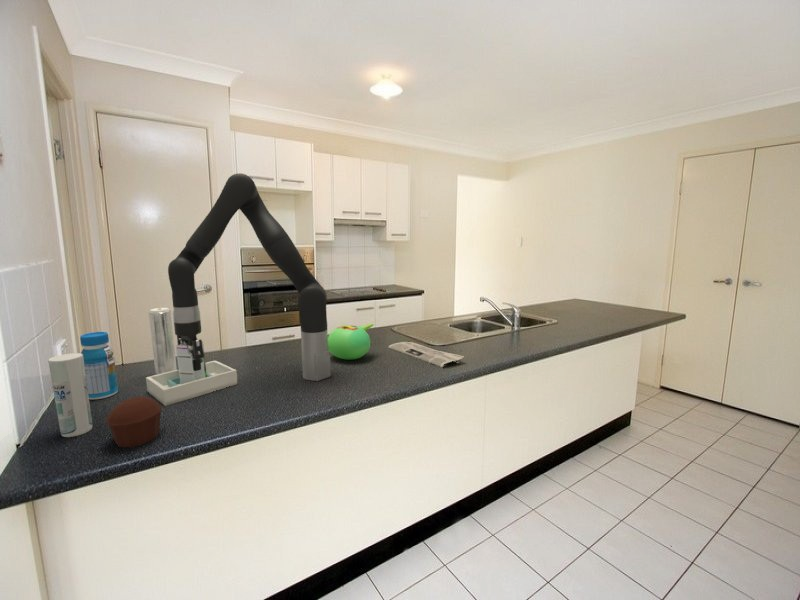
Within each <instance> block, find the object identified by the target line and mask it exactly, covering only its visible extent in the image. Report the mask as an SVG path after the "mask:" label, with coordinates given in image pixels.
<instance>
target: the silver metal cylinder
mask: <svg viewBox="0 0 800 600" xmlns="http://www.w3.org/2000/svg"><path fill="white" fill-rule="evenodd" d="M148 319H149V327H150V337H151V346H152V352H153V353H152V354H153V360H154V373H155V375H158V374H162V373H166V372H170V371H174V370H178V369H177V368H178V367H177V361H176V360H177V359H176V351H175V350H176V348H175V342H174V341H175V339H174V330H173V321H172V313H171V310H170V308H169V307H157V308H155V307H154V308H152V309H149V312H148Z"/></svg>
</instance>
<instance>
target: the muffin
mask: <svg viewBox="0 0 800 600" xmlns="http://www.w3.org/2000/svg"><path fill="white" fill-rule="evenodd" d="M162 409H163V407H162V405H161V404H160V403H159V402H157V401H156V400H155V399H154V398H152V397H146V396H135V397H131V398H128V399H124V400H123V401H122V402H120V403H118V404H116V405H115V406H114V407H113V408H112V410H111V411H110V412H109V413H108V415H107V417H106V418H105V420H104V421H105V423H106V424H107V425H108V426H109V429H110V432H111V435H112V437H113V440H114V443H115V444H116V445H117V446H118V447H119V448H132V447H133V448H134V447H137V446H141V445H145V444H147V443H148V442H150V441H153V440H154V439H156V438H155V437H157V436H158V434H159V433H160V426H161V425H160V424H161V412H162ZM156 435H157V436H156Z"/></svg>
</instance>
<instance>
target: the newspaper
mask: <svg viewBox="0 0 800 600" xmlns="http://www.w3.org/2000/svg"><path fill="white" fill-rule="evenodd" d="M389 348H391V349H393V350H392V351H394V350H396V351H395V352H397V351H399V352H401V353H400V354H402V353H404V354H403V355H405V354H407V355H406V356H408V355H410V356H412V357H411V358H413V357H415V358H414V359H416V358H418V359H421V360H423V361H422V362H424V361H426V362H429V363H432V364H435V365H438V366H440V367H443V365H444V364H445V365H447V364H449V363H453V362H452V361H456V362H459V363H458V364H460V363H461V360H462V359H463V358H464V357H465V356H464V355H460V354H456V353H450V352H446V351H441V350H436V349H433V348H430V347H429V346H428V347H427V346H425V345H422V344H419V343H416V342H413V341H410V342H408V341H399V342H395V343H392V344H390V345H388V349H389ZM391 349H390V350H391ZM399 352H398V353H399ZM410 356H409V357H410ZM418 359H417V360H418ZM421 360H420V361H421ZM426 362H425V363H426ZM429 363H428V364H429ZM432 364H431V365H432ZM440 367H439V368H440Z"/></svg>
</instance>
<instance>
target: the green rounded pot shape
mask: <svg viewBox="0 0 800 600" xmlns="http://www.w3.org/2000/svg"><path fill="white" fill-rule="evenodd" d="M373 326H374V323H369V324H364V325H361V326H360V325H359V326H357V325H348V324H345V323H344V324H341V326H338V327H336V328H334V329H333V330H332V331H331V332H330V333H329V334H328V351H330V354H331V355H333V356H335V357H336V358H338V359H341V360H347V361H349V360H358V359H361V358H362V357H363V356H365V355H366V354H367V353H368V352H369V350H370V348H371V338H370V336H369V334H368V332H367V330H369V329H371V328H372V327H373Z"/></svg>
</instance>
